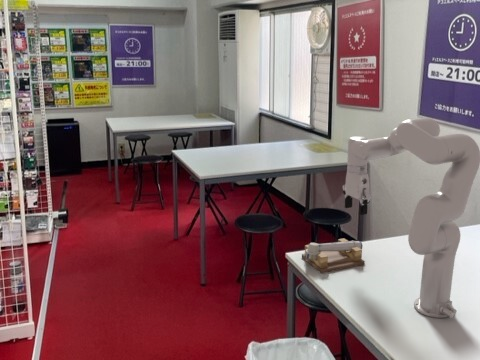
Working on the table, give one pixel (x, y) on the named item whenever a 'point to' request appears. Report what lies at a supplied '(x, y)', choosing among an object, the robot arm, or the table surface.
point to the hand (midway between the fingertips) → (355, 210)
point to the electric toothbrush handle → (330, 247)
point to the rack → (336, 259)
